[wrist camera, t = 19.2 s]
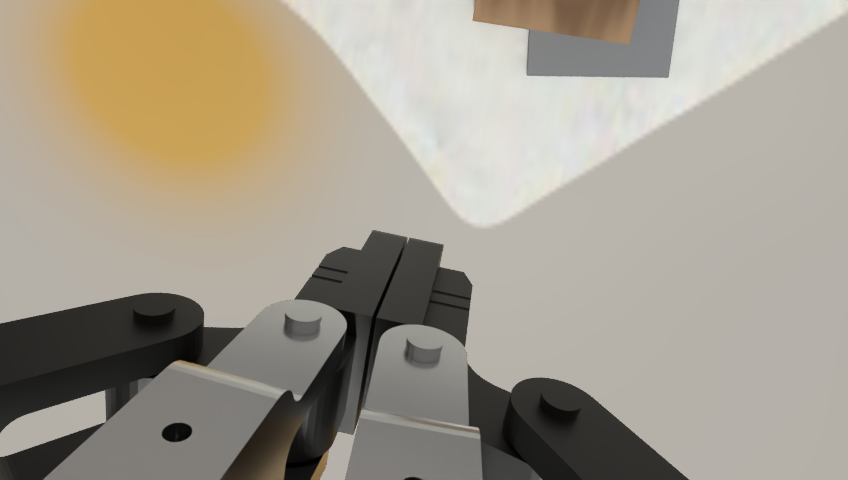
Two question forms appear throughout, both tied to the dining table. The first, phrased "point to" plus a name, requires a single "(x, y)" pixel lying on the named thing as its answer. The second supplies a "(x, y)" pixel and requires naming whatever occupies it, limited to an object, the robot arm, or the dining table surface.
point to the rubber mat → (610, 48)
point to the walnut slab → (564, 16)
